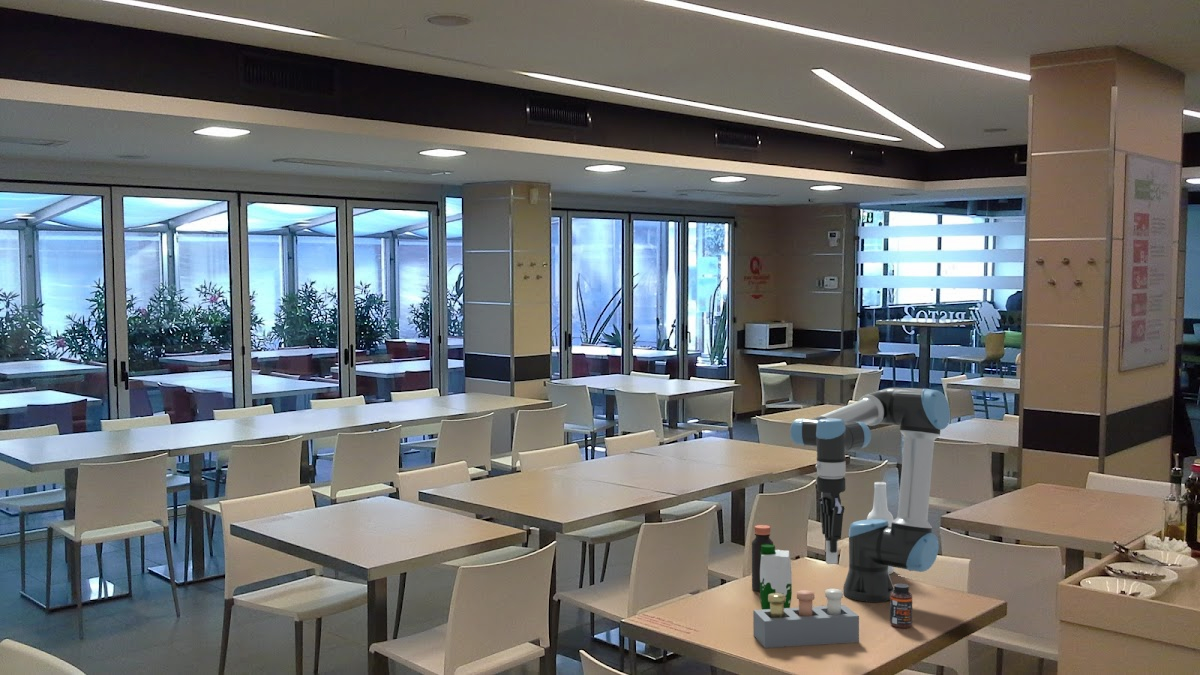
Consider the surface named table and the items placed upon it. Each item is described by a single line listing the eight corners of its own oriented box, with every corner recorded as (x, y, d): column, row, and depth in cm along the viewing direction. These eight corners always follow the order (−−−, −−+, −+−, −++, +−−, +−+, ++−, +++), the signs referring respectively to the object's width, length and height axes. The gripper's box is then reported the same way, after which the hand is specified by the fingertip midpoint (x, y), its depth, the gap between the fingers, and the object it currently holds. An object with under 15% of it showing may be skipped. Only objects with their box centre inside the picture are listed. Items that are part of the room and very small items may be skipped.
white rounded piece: (838, 614, 274) (838, 588, 274) (845, 620, 269) (845, 593, 269) (822, 615, 273) (822, 589, 273) (829, 621, 269) (828, 593, 268)
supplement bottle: (896, 629, 277) (896, 588, 277) (886, 622, 283) (886, 583, 283) (916, 628, 278) (916, 587, 278) (905, 621, 284) (905, 581, 284)
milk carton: (760, 608, 297) (760, 541, 296) (791, 610, 295) (791, 542, 295) (759, 618, 288) (759, 548, 288) (791, 619, 287) (791, 550, 286)
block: (844, 629, 277) (844, 604, 277) (859, 641, 267) (859, 615, 267) (753, 635, 273) (753, 610, 273) (764, 647, 263) (764, 621, 263)
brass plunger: (782, 619, 272) (782, 592, 271) (788, 624, 267) (787, 597, 267) (766, 620, 271) (765, 593, 271) (771, 625, 266) (771, 598, 266)
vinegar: (751, 591, 315) (750, 528, 314) (752, 586, 321) (752, 523, 321) (773, 593, 313) (772, 529, 312) (774, 587, 320) (773, 524, 319)
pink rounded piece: (810, 616, 273) (810, 589, 272) (816, 621, 268) (816, 594, 268) (794, 617, 272) (794, 590, 272) (800, 622, 267) (800, 595, 267)
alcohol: (878, 576, 331) (878, 486, 330) (861, 570, 339) (861, 481, 338) (899, 573, 334) (899, 483, 334) (881, 567, 342) (881, 479, 341)
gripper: (809, 472, 276) (810, 557, 277) (826, 481, 263) (827, 570, 264) (835, 471, 277) (836, 556, 278) (853, 480, 264) (854, 569, 265)
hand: (831, 563), depth 271 cm, fingers closed
